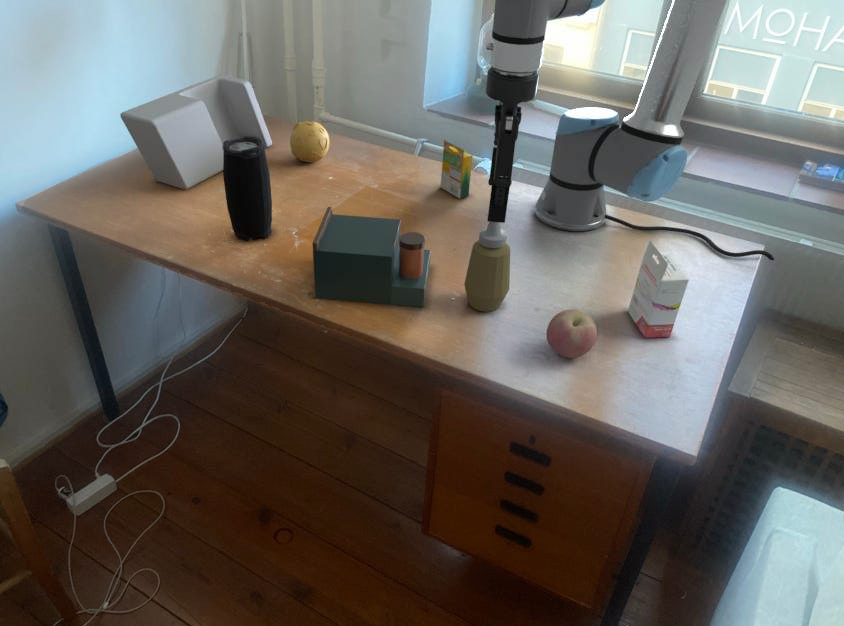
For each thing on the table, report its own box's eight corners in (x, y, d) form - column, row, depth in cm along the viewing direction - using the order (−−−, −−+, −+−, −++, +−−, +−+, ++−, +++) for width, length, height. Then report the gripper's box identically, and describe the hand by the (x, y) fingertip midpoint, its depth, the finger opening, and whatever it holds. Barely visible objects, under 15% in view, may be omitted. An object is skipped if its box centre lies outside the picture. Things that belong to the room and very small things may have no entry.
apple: (538, 361, 117) (546, 322, 112) (547, 335, 122) (555, 297, 117) (587, 373, 115) (597, 333, 110) (594, 346, 120) (604, 307, 115)
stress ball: (291, 153, 183) (288, 114, 176) (329, 152, 183) (327, 113, 177) (291, 169, 175) (288, 129, 169) (331, 168, 176) (329, 128, 170)
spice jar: (424, 267, 132) (426, 232, 127) (422, 280, 128) (424, 245, 124) (399, 265, 132) (400, 230, 128) (396, 278, 129) (397, 243, 124)
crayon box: (469, 196, 165) (474, 147, 158) (459, 199, 163) (463, 150, 156) (449, 184, 169) (453, 137, 162) (440, 187, 168) (443, 139, 161)
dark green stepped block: (429, 267, 140) (433, 214, 132) (423, 307, 129) (426, 251, 122) (329, 259, 141) (327, 206, 134) (315, 297, 131) (312, 242, 123)
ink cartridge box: (671, 337, 123) (696, 264, 113) (643, 338, 122) (666, 265, 113) (652, 309, 129) (674, 238, 120) (626, 310, 129) (646, 238, 120)
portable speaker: (223, 238, 147) (210, 146, 135) (249, 219, 154) (239, 131, 142) (257, 247, 144) (246, 155, 132) (282, 228, 151) (275, 138, 139)
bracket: (204, 224, 173) (152, 122, 149) (173, 213, 177) (117, 113, 153) (274, 144, 186) (235, 39, 162) (243, 136, 190) (201, 32, 166)
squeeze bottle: (505, 318, 126) (518, 228, 115) (460, 312, 127) (469, 222, 116) (508, 294, 132) (521, 206, 121) (465, 289, 134) (474, 201, 122)
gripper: (489, 44, 114) (475, 170, 127) (486, 94, 95) (470, 236, 108) (536, 47, 113) (518, 173, 127) (543, 98, 94) (520, 240, 107)
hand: (496, 202), depth 117 cm, fingers open, 13 cm apart
